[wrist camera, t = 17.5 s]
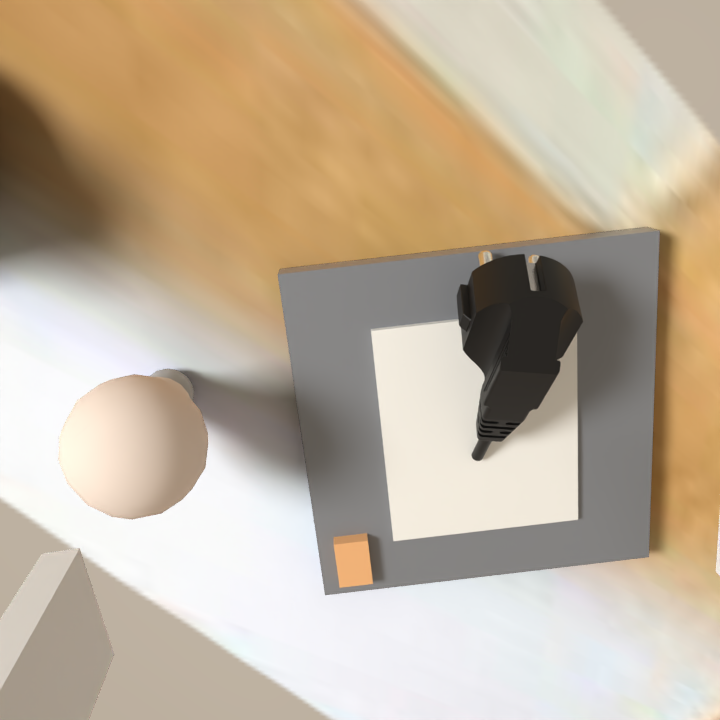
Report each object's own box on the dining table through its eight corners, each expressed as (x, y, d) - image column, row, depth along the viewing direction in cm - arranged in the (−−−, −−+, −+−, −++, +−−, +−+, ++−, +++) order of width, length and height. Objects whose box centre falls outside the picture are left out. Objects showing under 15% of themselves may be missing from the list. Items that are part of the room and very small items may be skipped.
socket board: (279, 269, 37) (276, 277, 35) (647, 226, 37) (666, 232, 35) (325, 579, 43) (325, 603, 41) (638, 543, 43) (654, 564, 41)
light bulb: (163, 307, 37) (98, 374, 27) (254, 384, 39) (227, 476, 28) (89, 389, 38) (0, 484, 28) (180, 461, 40) (128, 576, 30)
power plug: (428, 466, 38) (480, 333, 28) (423, 355, 42) (467, 208, 32) (528, 472, 38) (613, 343, 28) (512, 362, 43) (582, 218, 33)
